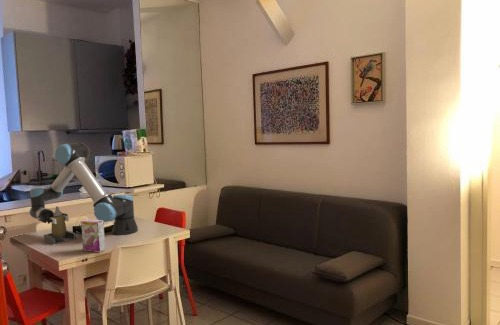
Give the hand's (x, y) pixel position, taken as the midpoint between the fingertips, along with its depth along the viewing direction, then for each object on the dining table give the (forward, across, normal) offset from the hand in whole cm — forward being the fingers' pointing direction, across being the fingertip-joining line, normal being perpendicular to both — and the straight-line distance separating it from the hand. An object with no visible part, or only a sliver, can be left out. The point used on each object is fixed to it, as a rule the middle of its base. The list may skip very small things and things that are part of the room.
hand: (61, 220), depth 244 cm
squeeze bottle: (-5, 0, -11) cm, 12 cm away
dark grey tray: (-5, 0, -13) cm, 13 cm away
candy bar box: (+32, -2, -13) cm, 34 cm away
